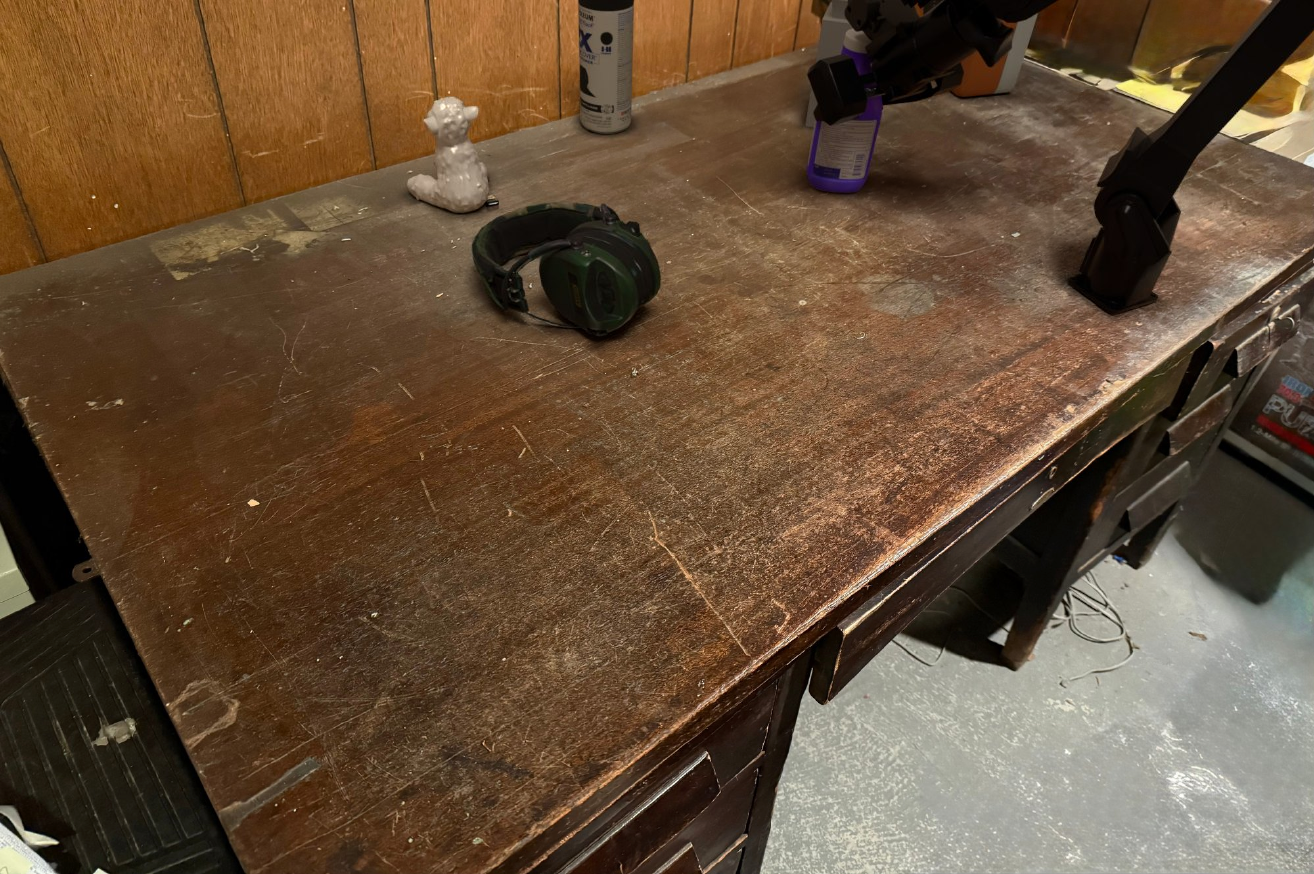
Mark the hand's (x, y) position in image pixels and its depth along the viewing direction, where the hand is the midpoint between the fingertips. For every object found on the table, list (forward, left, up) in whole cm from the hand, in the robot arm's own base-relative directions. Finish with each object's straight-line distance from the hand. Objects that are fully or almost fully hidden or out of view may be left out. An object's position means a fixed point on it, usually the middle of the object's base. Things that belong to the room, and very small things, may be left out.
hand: (840, 109), depth 101 cm
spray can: (+24, +19, -9) cm, 31 cm away
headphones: (-10, +38, -9) cm, 40 cm away
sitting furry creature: (+12, +42, -9) cm, 44 cm away
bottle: (-1, 0, -9) cm, 9 cm away
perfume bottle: (+14, -10, -9) cm, 19 cm away
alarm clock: (+21, -36, -9) cm, 43 cm away
